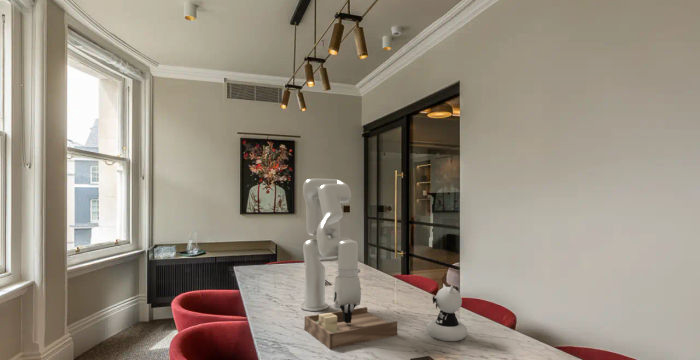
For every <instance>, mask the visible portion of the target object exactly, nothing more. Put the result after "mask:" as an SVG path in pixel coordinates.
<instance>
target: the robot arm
mask: <svg viewBox="0 0 700 360" xmlns="http://www.w3.org/2000/svg"><path fill="white" fill-rule="evenodd" d="M302 186H303V187H302V195H303V199H304V202H305V207H306V209H305V213H306V216H305V218H306V219H305V220H306V232H307V234H308V235H309V236H312V237H316V238H311V239H308V240H305V242H304V243H303V245H302V252H303V260H304V290H303V291H304V297H303V300H304V303H301V304H300V308H301V309H302V310H303V311H308V312H319V311H323V310H327V309H328V308H329V304H328V303H327V302H326V301H325V300H326V268H325V266H324V264H323V263H322V262H321V260H328V259H329V260H330V259H331V260H332V259H336V258H337V276H335V280H334V283H333V290H332V291H333V293H332V301H333V303H334V304H333V305H334V306H333V307H334V308H335V309H338V310H339V309H340V311H343V321H344V322H345V323H351V319H352V312H353V309H356V307H358V306H360V305H361V300H362V290H361V289H362V287H361V280H360V276H359V273H361V269H360V268H358V267H359V244H358V242H357V241H356V240H353V239H351V238H349V237H341V223H340V220H341V219H342V218H343V216H344V212H343V209H342V205H341V204H347V203H349V202H350V201H351V198H352V192H351V189H350V186H349V185H348V184H347V183H346V182H343V181H342V180H341V179H335V178H320V177H319V178H308V179H306V180H305V181H304V182H303V185H302ZM327 236H328V237H327Z"/></svg>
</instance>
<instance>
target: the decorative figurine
mask: <svg viewBox="0 0 700 360" xmlns="http://www.w3.org/2000/svg"><path fill="white" fill-rule="evenodd" d="M442 285H443V286H442V288H441V289H439V290H438V291H437V293H436V295H434V294H433V296H432V304H435V308H436V310H437V309H439V310H440V311H439V312H438V315H437V317H436V318H435V319H434V318H433V319H431V320H430V321H429V322H428V323H427V325H426V331H427V333H428V335H430V337H432V338H434V339H436V340H439V341H446V342H458V341H461V340H463V339H465V338H466V337H467V335H468V329H467V326H466V325H465V324H464V323H463V322H461V321H459V320H458V317H457V316H456V313H457V311H459V310H460V308H461V307H462V304H463V303H462V302H463V299H462V296H461V293H460V292H459V291H458V290H457V289H456V288H454V286H453V284H451V285H450V286H446V284H444V282H443V284H442Z"/></svg>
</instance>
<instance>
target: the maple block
mask: <svg viewBox="0 0 700 360" xmlns="http://www.w3.org/2000/svg"><path fill="white" fill-rule="evenodd" d="M319 325H321V326H322V327H324V328H325V329H327V330H328V331H336V330H337V316H336V315H334V314H333V313H331V312H325V314H324V313H319Z"/></svg>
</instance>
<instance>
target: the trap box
mask: <svg viewBox="0 0 700 360" xmlns="http://www.w3.org/2000/svg"><path fill="white" fill-rule="evenodd" d="M325 313H326V312H325ZM325 313H323V314H325ZM330 313H333V314H334V315H336V316H337V330H336V331H328V330H327V329H325V328H324V327H322V326H321V325H319V314H320V313H319V314H312V315H307V316H306V315H305V316H304V325H303V327H304V331H306V332H307V333H308V334H309V335H311V336H312V337H314V338H315V339H316V340H318V342H320V343H321V344H322V345H324V347H327V348H328V349H329V350H333V349H339V348H343V347H347V346H353V345H357V344H361V343H362V344H363V343H367V342H373V341H376V340H377V341H378V340H381V339H386V338H392V337H395V336H397V337H398V321H396V320H395V321H390V322H388V321H385V320H383V319H382V318H380V317H377V316H375V315H373V314H371V313H369V312H368V307H367V306H365V307H357V308H354V309H353V312H352V319H351V323H345V322H344V321H343V311H342V310H339V311H332V312H330Z"/></svg>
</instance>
